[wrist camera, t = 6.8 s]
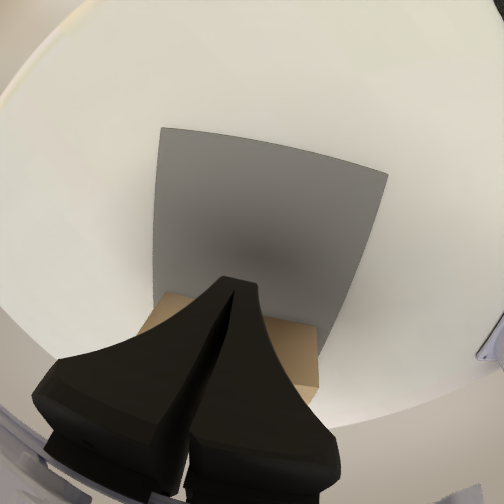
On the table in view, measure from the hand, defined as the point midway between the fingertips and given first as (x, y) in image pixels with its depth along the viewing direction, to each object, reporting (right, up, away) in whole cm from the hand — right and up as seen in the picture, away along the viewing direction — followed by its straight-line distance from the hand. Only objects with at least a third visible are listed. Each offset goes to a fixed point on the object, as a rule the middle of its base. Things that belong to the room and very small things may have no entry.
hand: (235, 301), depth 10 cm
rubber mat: (0, -2, +8) cm, 8 cm away
